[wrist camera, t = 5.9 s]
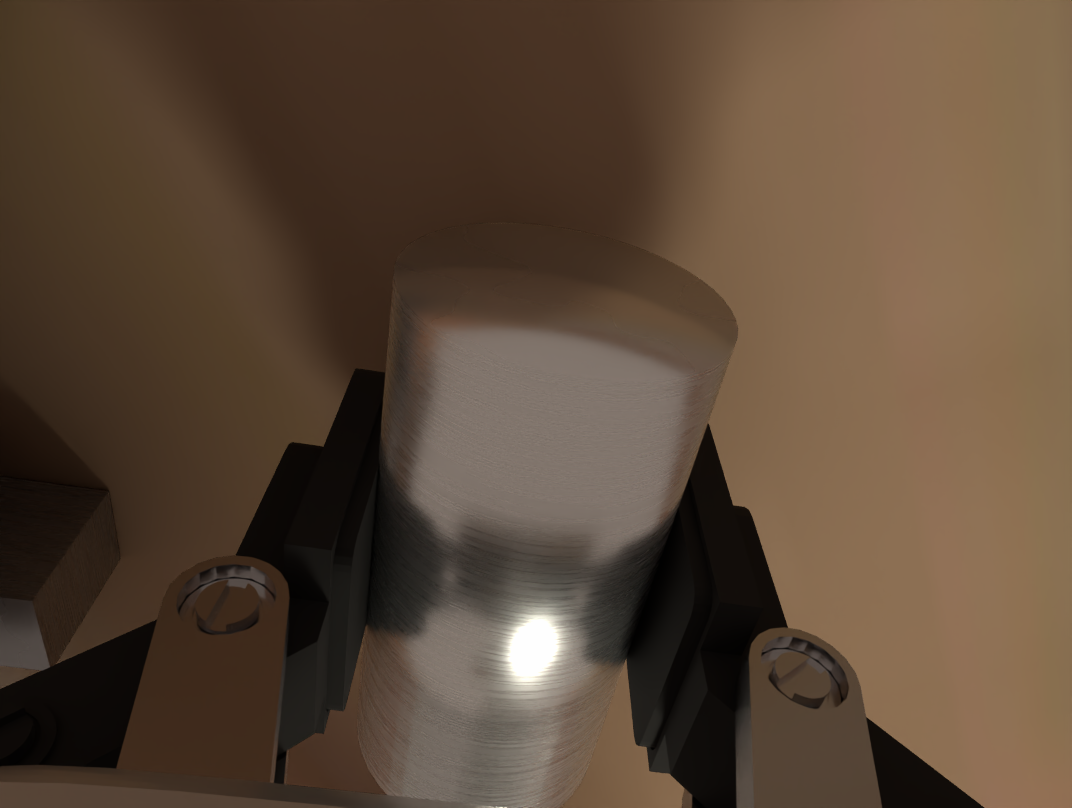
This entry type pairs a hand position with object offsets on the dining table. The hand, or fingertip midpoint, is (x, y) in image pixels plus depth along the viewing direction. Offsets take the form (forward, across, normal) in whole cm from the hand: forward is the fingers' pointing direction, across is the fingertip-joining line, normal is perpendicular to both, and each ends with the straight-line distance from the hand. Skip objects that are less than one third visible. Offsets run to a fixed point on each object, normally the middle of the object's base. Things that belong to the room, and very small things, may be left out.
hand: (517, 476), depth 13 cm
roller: (0, 0, 0) cm, 0 cm away
